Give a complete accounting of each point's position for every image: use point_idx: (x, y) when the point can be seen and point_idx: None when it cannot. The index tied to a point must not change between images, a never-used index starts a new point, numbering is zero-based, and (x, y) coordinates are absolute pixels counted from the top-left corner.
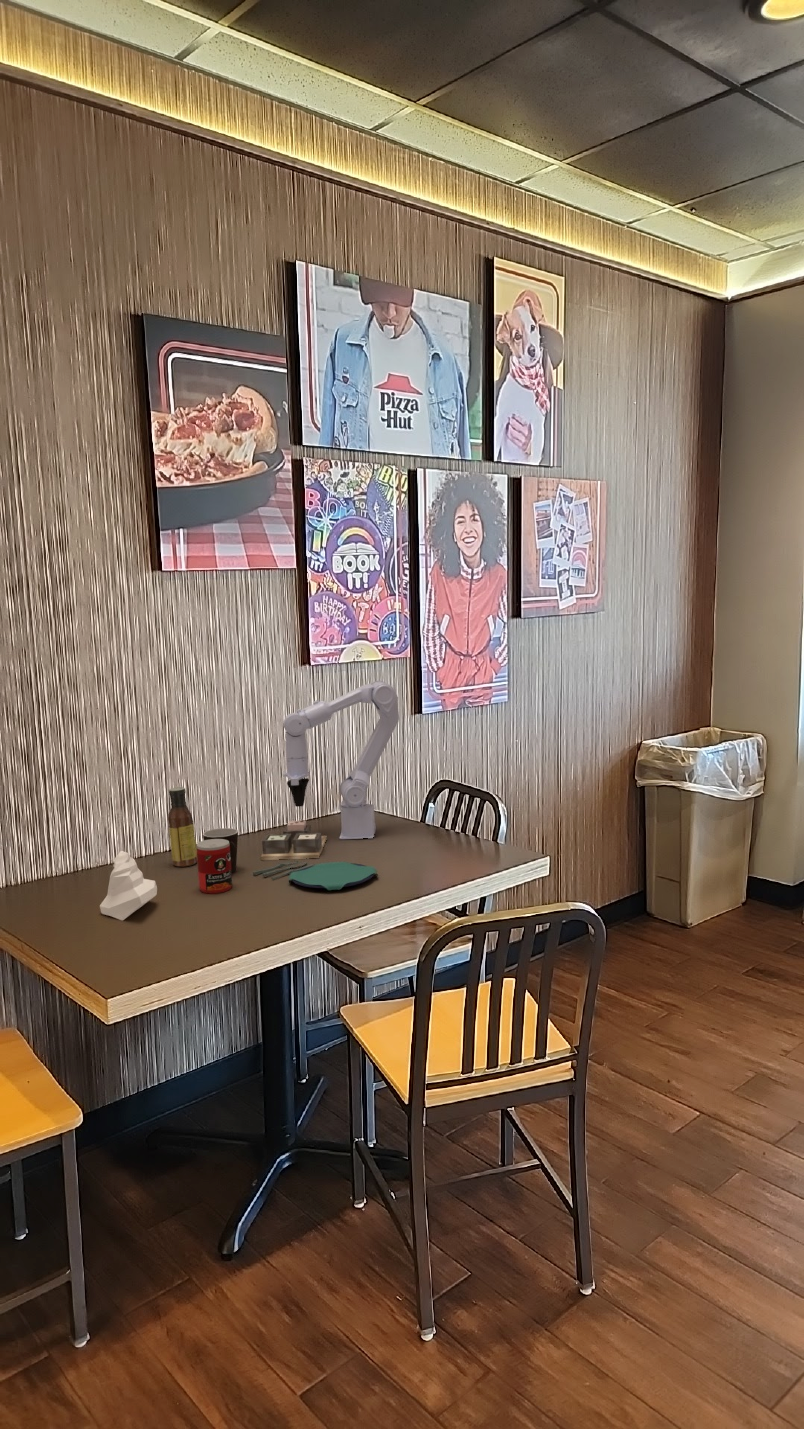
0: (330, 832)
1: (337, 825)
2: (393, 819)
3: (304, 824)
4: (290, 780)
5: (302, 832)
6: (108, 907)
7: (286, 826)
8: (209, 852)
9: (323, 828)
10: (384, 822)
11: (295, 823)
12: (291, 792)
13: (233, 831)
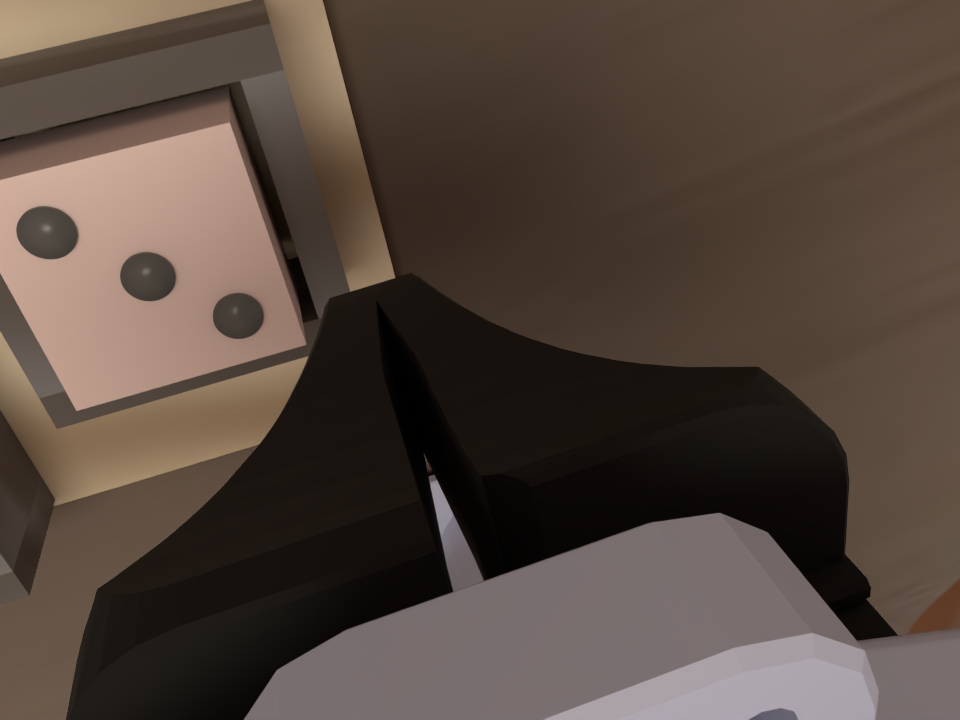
0: (648, 310)
1: (874, 275)
2: (948, 568)
3: (164, 375)
4: (717, 477)
5: (29, 366)
6: None
7: (208, 44)
8: None
9: (793, 190)
10: (886, 552)
11: (102, 276)
12: (261, 445)
13: None
